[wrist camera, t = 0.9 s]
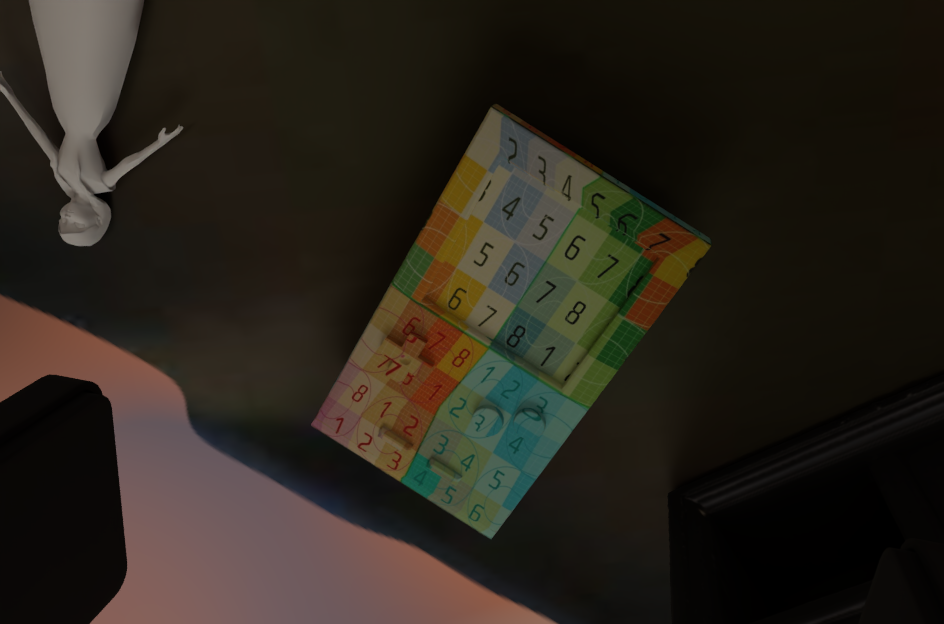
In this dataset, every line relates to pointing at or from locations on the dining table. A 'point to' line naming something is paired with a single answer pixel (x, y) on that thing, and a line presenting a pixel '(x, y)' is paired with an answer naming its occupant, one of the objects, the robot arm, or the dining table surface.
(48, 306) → the dining table surface
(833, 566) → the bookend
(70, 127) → the woman figurine
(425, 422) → the puzzle game
